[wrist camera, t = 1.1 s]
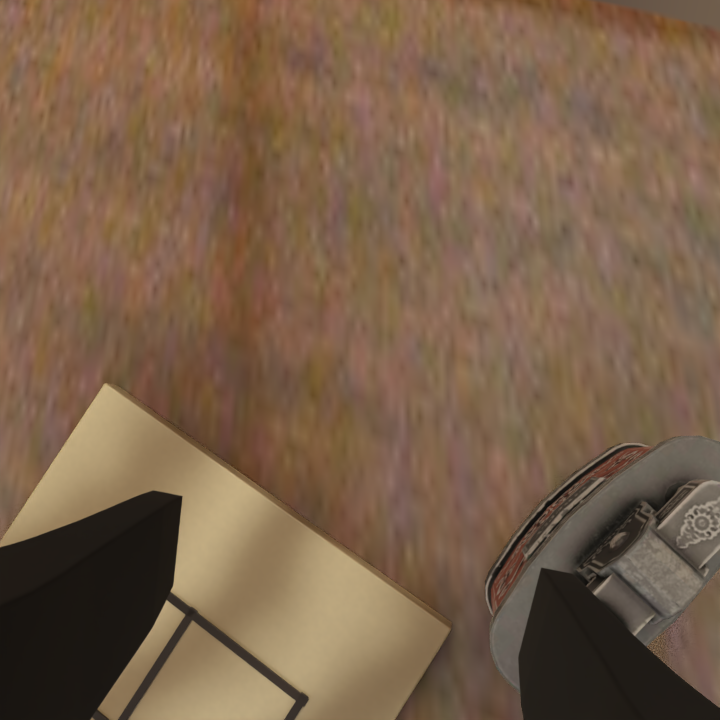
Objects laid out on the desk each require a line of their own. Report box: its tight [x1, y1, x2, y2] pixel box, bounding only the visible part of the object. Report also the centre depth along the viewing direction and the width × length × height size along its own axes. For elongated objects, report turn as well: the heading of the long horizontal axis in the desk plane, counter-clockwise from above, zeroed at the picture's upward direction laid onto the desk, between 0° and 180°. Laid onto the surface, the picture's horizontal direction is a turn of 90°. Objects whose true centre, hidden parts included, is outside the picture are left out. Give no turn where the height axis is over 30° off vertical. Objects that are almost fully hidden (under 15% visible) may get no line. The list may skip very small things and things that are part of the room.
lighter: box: [485, 436, 720, 693], centre depth 19 cm, size 8×3×10 cm, turn 135°
